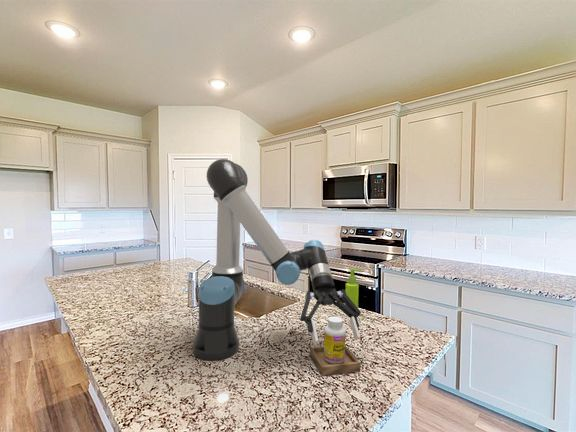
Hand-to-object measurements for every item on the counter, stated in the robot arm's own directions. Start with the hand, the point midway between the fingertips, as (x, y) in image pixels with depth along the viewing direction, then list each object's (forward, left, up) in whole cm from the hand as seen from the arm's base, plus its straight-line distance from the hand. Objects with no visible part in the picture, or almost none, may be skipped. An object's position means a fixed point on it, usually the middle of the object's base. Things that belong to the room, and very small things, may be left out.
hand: (337, 340), depth 90 cm
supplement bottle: (0, +2, -7) cm, 8 cm away
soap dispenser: (+25, +41, -8) cm, 49 cm away
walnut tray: (0, +2, -8) cm, 8 cm away
